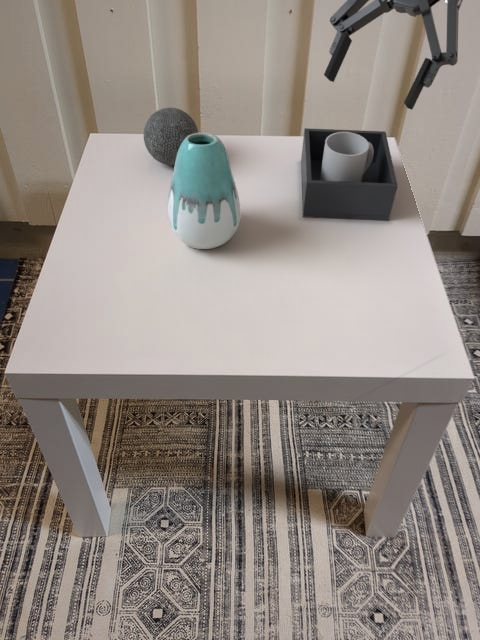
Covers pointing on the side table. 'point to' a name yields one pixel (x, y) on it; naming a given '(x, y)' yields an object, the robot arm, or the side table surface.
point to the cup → (346, 157)
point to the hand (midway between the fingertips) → (367, 92)
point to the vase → (203, 193)
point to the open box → (347, 197)
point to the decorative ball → (167, 133)
